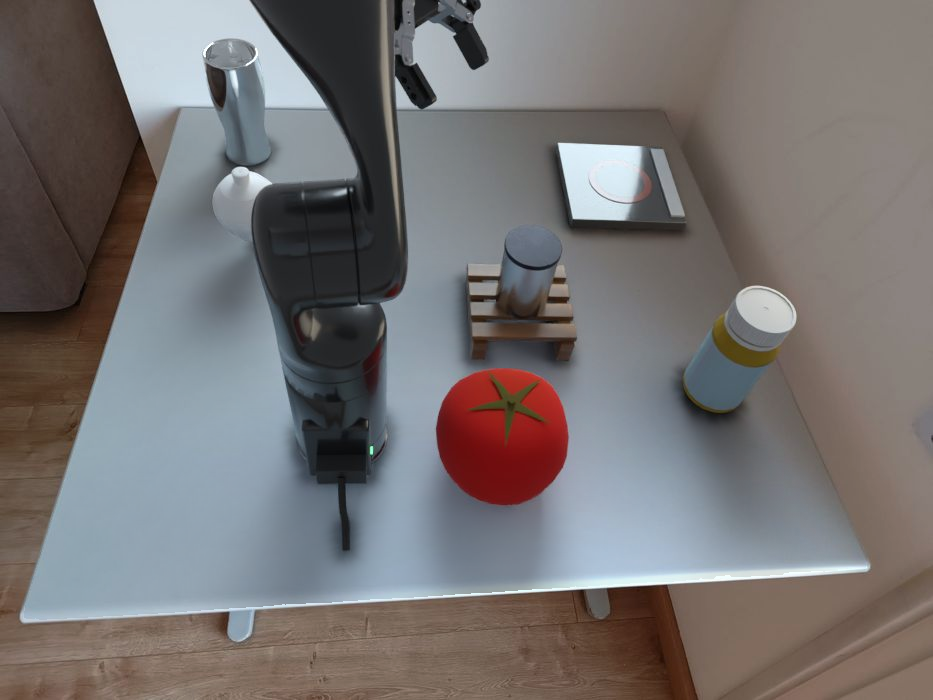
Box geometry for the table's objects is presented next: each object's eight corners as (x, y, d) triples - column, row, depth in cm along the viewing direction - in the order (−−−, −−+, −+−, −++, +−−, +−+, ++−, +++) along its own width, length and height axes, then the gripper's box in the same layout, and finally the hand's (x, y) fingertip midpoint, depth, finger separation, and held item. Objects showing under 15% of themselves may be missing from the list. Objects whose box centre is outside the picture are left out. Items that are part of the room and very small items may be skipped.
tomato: (454, 536, 70) (465, 485, 60) (420, 418, 77) (425, 356, 68) (574, 506, 73) (603, 453, 63) (530, 395, 80) (550, 333, 71)
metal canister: (549, 320, 82) (566, 267, 75) (496, 319, 81) (507, 266, 74) (543, 279, 85) (558, 225, 78) (492, 278, 85) (502, 224, 78)
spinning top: (293, 261, 88) (282, 187, 79) (230, 275, 86) (211, 200, 77) (279, 219, 92) (266, 144, 83) (218, 231, 90) (198, 155, 81)
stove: (683, 230, 98) (688, 220, 97) (570, 227, 97) (573, 217, 95) (659, 154, 108) (663, 144, 106) (555, 150, 106) (557, 140, 104)
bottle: (697, 421, 80) (752, 342, 68) (670, 370, 84) (719, 287, 72) (750, 409, 82) (814, 330, 70) (722, 360, 86) (778, 277, 74)
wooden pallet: (571, 360, 84) (578, 341, 80) (469, 359, 82) (472, 340, 79) (558, 282, 91) (564, 262, 87) (464, 280, 89) (466, 260, 86)
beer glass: (220, 139, 100) (197, 39, 88) (270, 133, 102) (255, 35, 90) (226, 171, 97) (203, 72, 85) (278, 164, 98) (263, 66, 86)
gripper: (325, -82, 55) (435, 107, 61) (434, -134, 63) (523, 39, 69) (282, -37, 61) (387, 131, 67) (387, -90, 68) (472, 66, 74)
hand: (456, 85), depth 68 cm, fingers open, 8 cm apart
